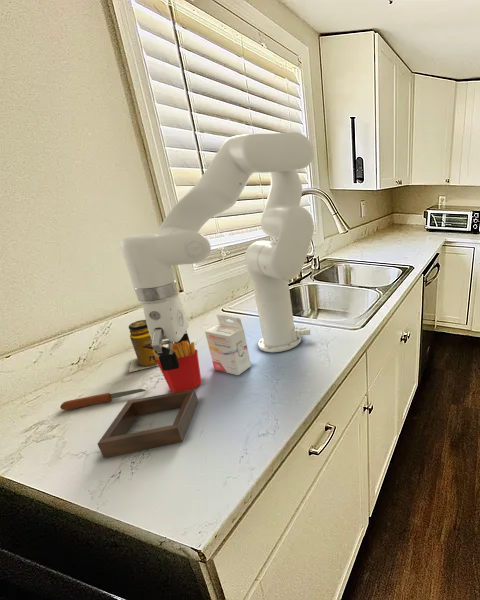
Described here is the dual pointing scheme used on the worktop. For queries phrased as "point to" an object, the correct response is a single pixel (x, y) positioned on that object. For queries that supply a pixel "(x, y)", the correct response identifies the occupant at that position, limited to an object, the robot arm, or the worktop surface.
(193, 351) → the french fries
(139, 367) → the condiment
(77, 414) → the worktop surface
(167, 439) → the holder
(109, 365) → the worktop surface
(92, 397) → the kitchen knife
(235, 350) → the ink cartridge box
